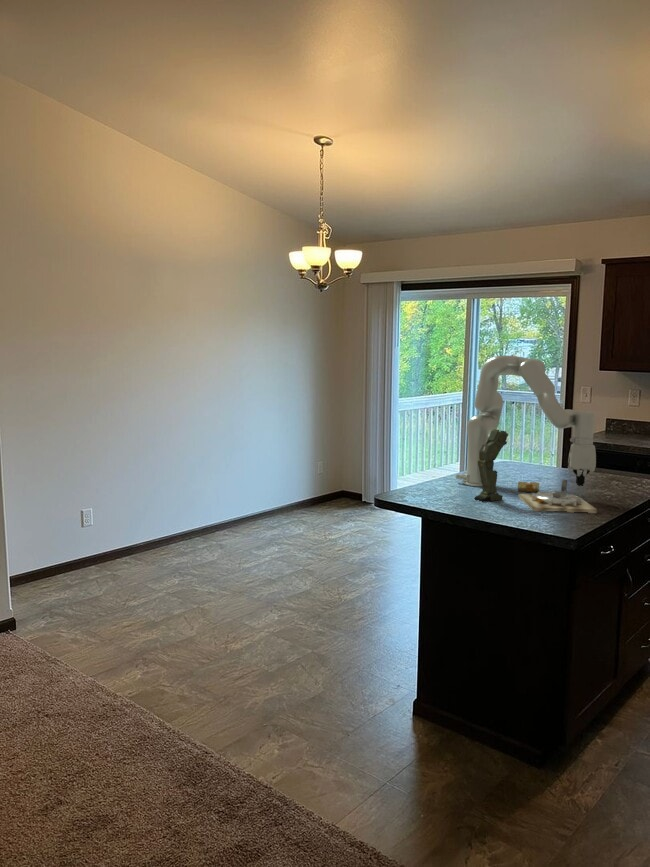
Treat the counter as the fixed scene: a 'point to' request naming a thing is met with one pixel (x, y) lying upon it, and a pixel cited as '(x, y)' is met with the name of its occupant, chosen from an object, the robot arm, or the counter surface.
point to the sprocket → (557, 497)
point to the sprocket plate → (545, 507)
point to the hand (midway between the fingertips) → (579, 485)
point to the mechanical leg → (490, 465)
